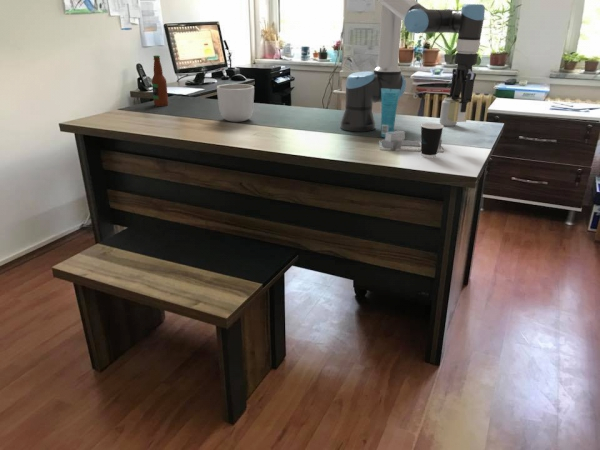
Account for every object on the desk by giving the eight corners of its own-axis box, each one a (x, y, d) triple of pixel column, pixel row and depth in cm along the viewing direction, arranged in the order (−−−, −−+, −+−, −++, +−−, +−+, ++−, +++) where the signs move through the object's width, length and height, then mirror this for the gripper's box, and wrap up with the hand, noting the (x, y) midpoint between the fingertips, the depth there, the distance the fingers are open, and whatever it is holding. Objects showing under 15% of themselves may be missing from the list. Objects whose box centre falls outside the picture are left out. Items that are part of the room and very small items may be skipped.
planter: (247, 115, 241) (246, 83, 235) (260, 122, 227) (259, 88, 221) (213, 118, 234) (212, 84, 228) (224, 125, 220) (223, 90, 214)
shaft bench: (380, 150, 184) (381, 134, 181) (378, 141, 196) (380, 126, 194) (443, 152, 182) (445, 136, 179) (438, 143, 194) (440, 128, 192)
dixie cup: (413, 156, 177) (416, 125, 173) (424, 151, 183) (427, 122, 178) (433, 160, 172) (437, 128, 168) (443, 155, 178) (447, 125, 174)
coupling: (453, 121, 180) (456, 102, 177) (447, 118, 184) (450, 99, 181) (466, 121, 180) (469, 102, 178) (460, 118, 185) (463, 99, 182)
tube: (395, 135, 206) (399, 88, 198) (396, 138, 201) (400, 89, 194) (377, 134, 207) (380, 87, 199) (377, 137, 202) (381, 89, 195)
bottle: (157, 103, 267) (152, 54, 257) (170, 104, 266) (165, 55, 256) (152, 106, 260) (146, 56, 250) (165, 106, 260) (160, 56, 250)
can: (457, 127, 222) (460, 100, 217) (439, 126, 223) (443, 99, 219) (455, 123, 229) (459, 97, 224) (438, 122, 230) (442, 96, 225)
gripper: (489, 55, 165) (478, 124, 175) (465, 50, 181) (455, 113, 191) (468, 55, 164) (458, 125, 174) (445, 50, 180) (437, 114, 190)
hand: (456, 119), depth 182 cm, fingers closed on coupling, 5 cm apart
